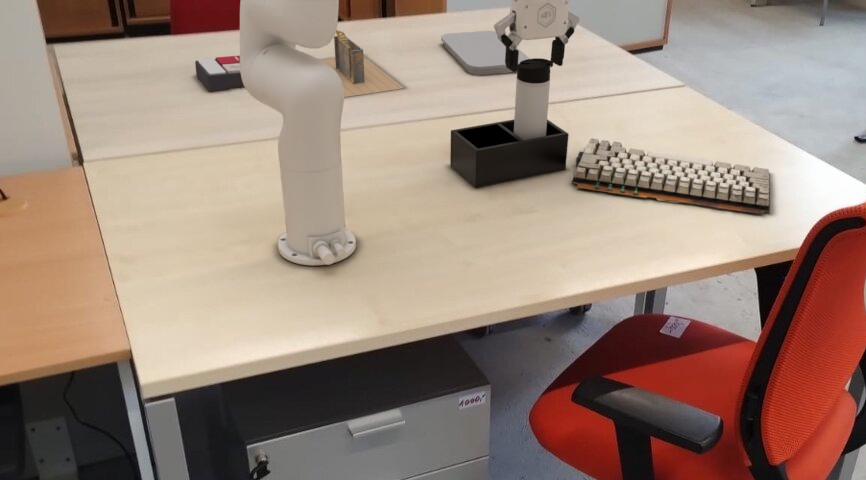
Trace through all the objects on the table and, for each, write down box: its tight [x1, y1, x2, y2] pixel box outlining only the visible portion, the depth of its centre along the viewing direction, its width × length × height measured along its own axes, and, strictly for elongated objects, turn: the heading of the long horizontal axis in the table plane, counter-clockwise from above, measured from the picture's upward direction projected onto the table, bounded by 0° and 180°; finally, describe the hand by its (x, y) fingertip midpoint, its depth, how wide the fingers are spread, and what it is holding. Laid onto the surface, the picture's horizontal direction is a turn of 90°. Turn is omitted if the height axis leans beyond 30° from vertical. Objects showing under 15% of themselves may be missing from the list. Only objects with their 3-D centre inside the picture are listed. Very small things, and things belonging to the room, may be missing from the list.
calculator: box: [194, 55, 244, 92], centre depth 216 cm, size 11×4×15 cm
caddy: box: [449, 118, 569, 189], centre depth 182 cm, size 10×20×8 cm, turn 119°
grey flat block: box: [440, 30, 531, 76], centre depth 237 cm, size 16×26×2 cm, turn 21°
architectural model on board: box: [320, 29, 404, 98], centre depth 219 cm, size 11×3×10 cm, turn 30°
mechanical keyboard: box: [571, 138, 771, 215], centre depth 181 cm, size 38×19×3 cm, turn 77°
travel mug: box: [513, 57, 554, 140], centre depth 180 cm, size 6×7×20 cm
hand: (534, 66), depth 175 cm, fingers open, 9 cm apart
